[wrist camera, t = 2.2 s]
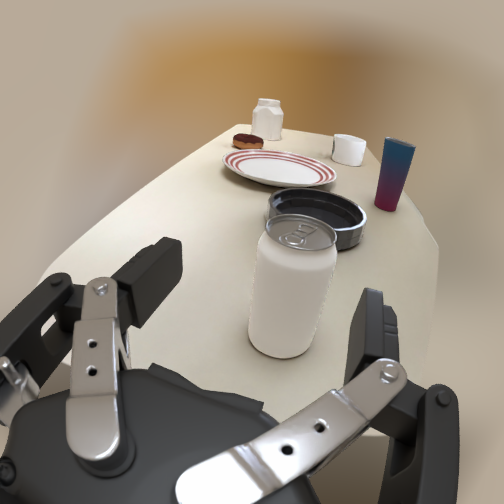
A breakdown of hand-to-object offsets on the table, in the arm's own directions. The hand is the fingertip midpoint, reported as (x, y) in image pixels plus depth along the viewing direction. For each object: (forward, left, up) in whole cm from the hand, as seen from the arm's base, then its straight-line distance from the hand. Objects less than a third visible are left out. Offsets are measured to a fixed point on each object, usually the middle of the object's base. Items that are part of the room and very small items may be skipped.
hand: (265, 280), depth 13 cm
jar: (-43, -99, -15) cm, 109 cm away
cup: (-45, -35, -15) cm, 59 cm away
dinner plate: (-28, -55, -15) cm, 63 cm away
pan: (-23, -29, -15) cm, 40 cm away
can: (-7, -9, -15) cm, 19 cm away
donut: (-30, -83, -15) cm, 89 cm away
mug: (-59, -69, -15) cm, 92 cm away
